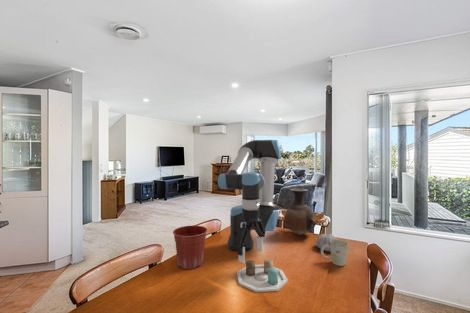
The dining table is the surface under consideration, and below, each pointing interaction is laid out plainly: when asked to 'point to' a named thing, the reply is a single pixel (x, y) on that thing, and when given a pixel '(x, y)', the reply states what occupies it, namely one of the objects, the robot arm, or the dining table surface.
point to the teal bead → (272, 276)
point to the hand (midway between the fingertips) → (251, 256)
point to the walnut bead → (250, 268)
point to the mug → (337, 252)
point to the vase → (299, 215)
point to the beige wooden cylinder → (267, 265)
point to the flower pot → (190, 246)
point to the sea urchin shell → (325, 241)
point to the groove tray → (260, 280)
